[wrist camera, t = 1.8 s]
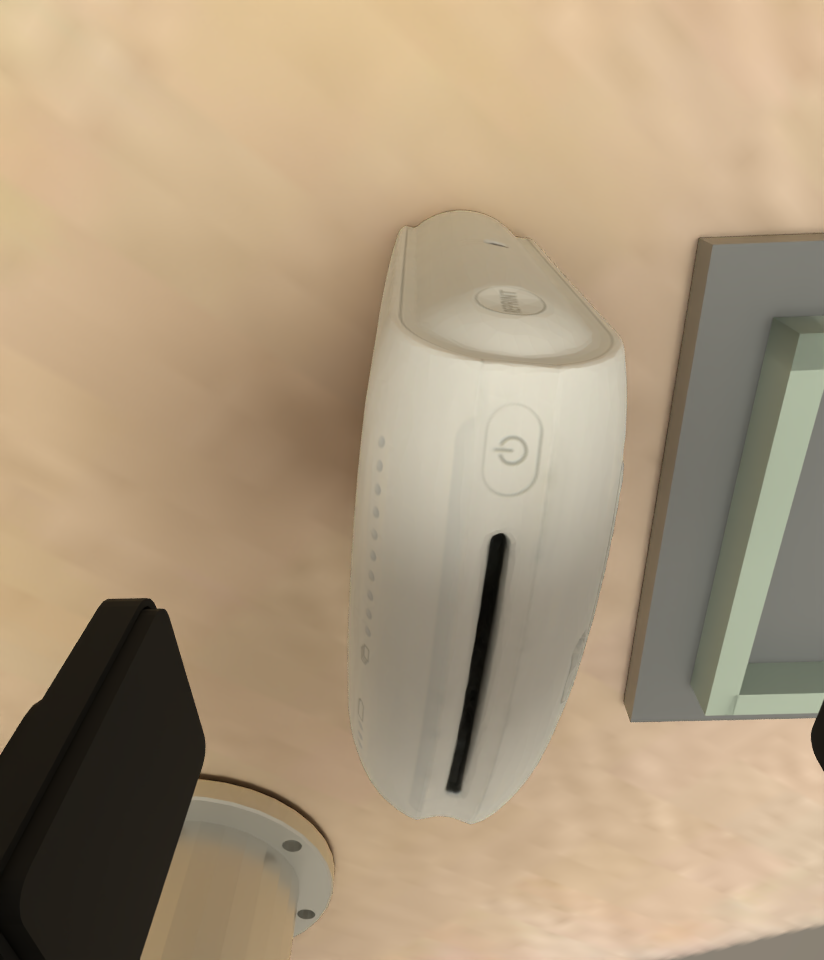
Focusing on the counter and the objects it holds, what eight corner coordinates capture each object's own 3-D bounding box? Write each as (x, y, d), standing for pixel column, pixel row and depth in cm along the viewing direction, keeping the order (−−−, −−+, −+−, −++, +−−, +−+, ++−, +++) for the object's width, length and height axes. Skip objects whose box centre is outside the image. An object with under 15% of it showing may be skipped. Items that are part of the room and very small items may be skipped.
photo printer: (387, 196, 18) (347, 338, 7) (545, 211, 18) (732, 371, 8) (366, 518, 23) (324, 882, 12) (490, 528, 23) (556, 895, 13)
